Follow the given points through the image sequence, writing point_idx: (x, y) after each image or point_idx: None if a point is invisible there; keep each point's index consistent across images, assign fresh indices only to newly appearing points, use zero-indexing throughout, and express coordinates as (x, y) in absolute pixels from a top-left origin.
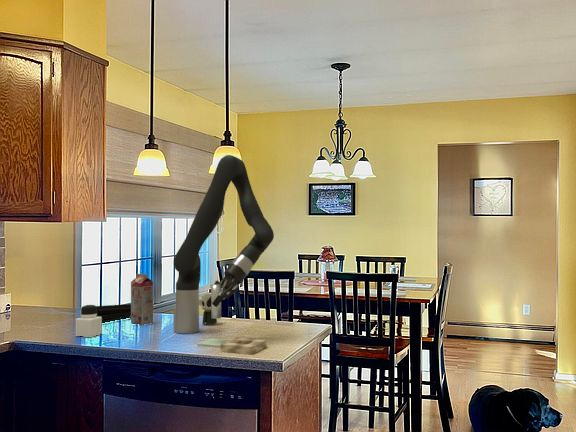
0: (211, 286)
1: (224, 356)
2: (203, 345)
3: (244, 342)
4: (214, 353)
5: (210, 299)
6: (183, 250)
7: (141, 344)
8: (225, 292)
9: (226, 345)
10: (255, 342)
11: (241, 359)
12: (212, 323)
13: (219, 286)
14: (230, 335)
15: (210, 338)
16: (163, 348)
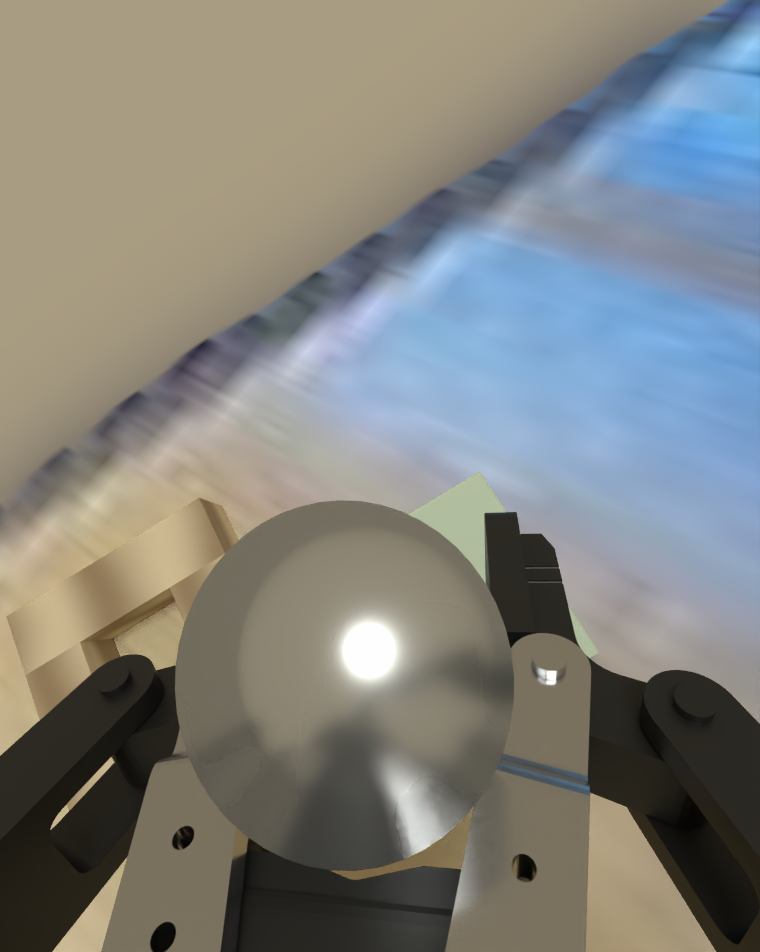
0: (351, 505)
1: (118, 465)
2: (433, 500)
3: None
4: (210, 455)
5: (488, 570)
6: None
7: (738, 191)
8: (59, 704)
9: (164, 521)
10: None
11: (10, 502)
12: None
13: (196, 706)
14: (691, 922)
15: (596, 649)
16: (525, 268)
